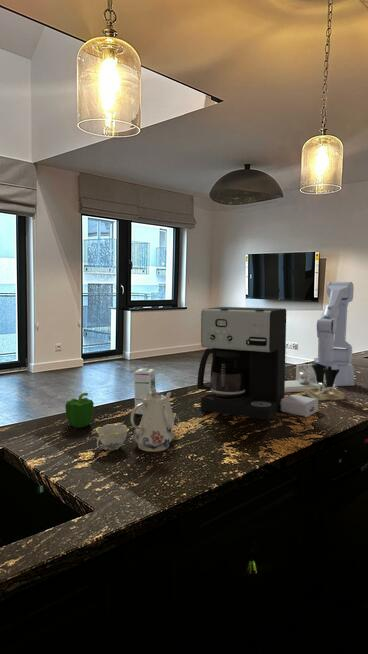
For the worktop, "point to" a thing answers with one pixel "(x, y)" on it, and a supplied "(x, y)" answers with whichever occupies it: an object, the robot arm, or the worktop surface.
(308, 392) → the tray
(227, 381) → the coffee maker
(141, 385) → the syrup box
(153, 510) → the worktop surface
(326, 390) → the cylinder
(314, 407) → the charger
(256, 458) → the worktop surface
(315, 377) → the cylinder
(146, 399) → the chinaware
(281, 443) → the worktop surface
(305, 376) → the spacer
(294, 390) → the scale
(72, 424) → the bell pepper
